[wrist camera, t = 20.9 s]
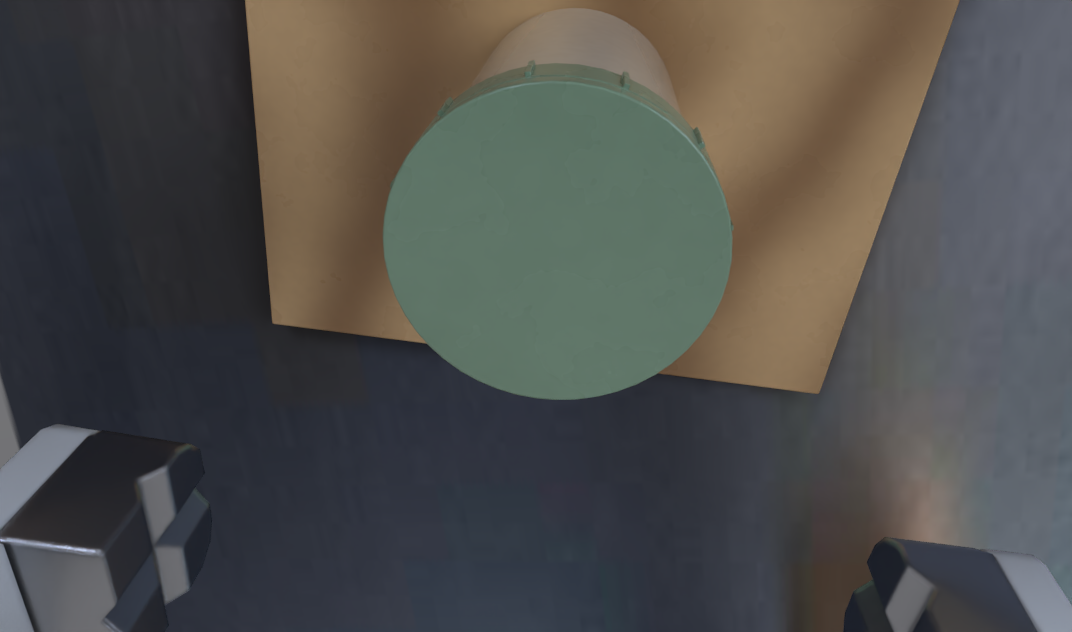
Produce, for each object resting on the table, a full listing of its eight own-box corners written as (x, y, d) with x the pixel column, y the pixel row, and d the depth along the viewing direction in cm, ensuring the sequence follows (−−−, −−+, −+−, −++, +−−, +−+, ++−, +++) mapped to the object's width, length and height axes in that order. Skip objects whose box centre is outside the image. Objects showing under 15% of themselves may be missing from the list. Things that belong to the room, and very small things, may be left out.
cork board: (279, 313, 28) (271, 324, 28) (231, -295, 19) (217, -301, 19) (814, 382, 28) (819, 395, 27) (1019, -204, 19) (1034, -206, 18)
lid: (398, 341, 17) (382, 379, 16) (402, 41, 14) (381, 58, 13) (685, 378, 17) (692, 419, 16) (757, 84, 14) (773, 106, 13)
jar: (469, 194, 25) (400, 357, 16) (482, -5, 22) (404, 70, 13) (654, 216, 25) (680, 393, 16) (692, 20, 22) (748, 112, 13)
